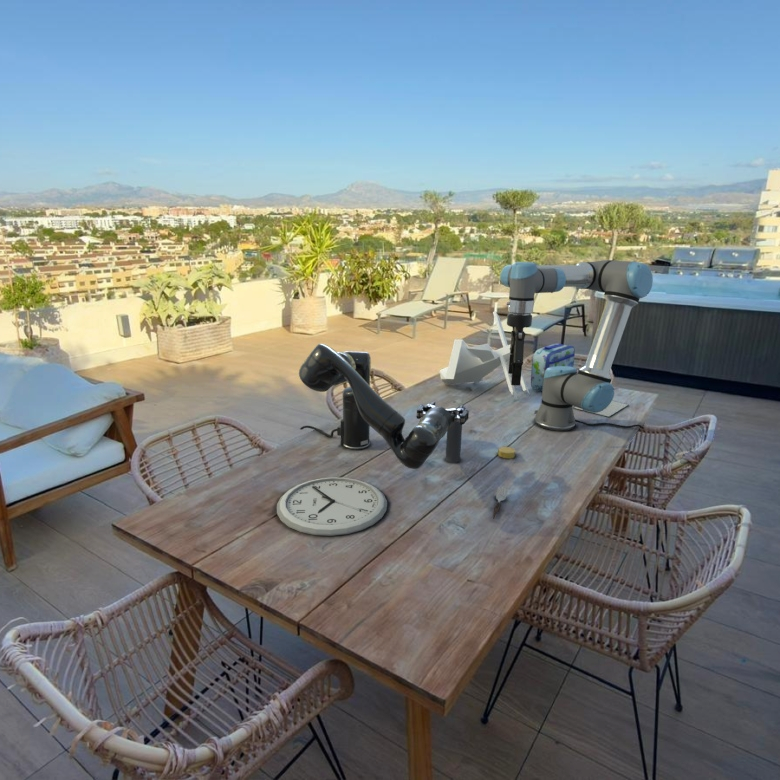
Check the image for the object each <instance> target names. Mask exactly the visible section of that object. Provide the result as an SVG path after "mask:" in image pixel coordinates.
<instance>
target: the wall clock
mask: <svg viewBox="0 0 780 780" xmlns="http://www.w3.org/2000/svg"><path fill="white" fill-rule="evenodd" d="M387 509H388V500H387V498H386V496H385V494H384V493H383V492H382V491H381V490H380V489H379V488H377V487H376V486H374V485H372V484H371V483H369V482H365V481H362V480H359V479H355V478H349V477H338V476H337V477H335V476H333V477H332V476H331V477H322V478H317V479H312V480H307V481H305V482H302V483H299V484H297V485H295V486H293V487H292V488H290V489H288V490H287V491H286V492H285V493H284V494H283V495H281V496H280V498H279V499H278V502H277V503H276V515H277V517H278V518H279V520H280V521H281V522H282V523H283V524H285V525H286V526H287V527H288V528H290V529H293V530H295V531H297V532H299V533H303V534H308V535H312V536H327V537H328V536H329V537H331V536H332V537H333V536H342V535H350V534H352V533H356V532H361V531H363V530H366V529H368V528H369V527H372V526H373V525H375V524H376V523H378V522H379V521H380V520H381V519H382V518H383V517H384V516H385V514H386V512H387Z"/></svg>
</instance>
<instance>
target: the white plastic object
mask: <svg viewBox="0 0 780 780" xmlns="http://www.w3.org/2000/svg"><path fill="white" fill-rule="evenodd" d="M492 315H493V319H494V321H495V324H496V325H495V326H496V328H497V332H498V335H499V338H500V342H501V345H502V347H500V348H498V349H496V350H495V349H493V348H492V347H491V346H490V344H489V343H488V342H487V343H483V344H479V345H473V346H469V345H468V343H466V342H465V340H464V339H463V338H460V339H458V338H454V340H453V344H452V349H451V353H450V357H449V362H448V366H446V367H444V368H442V369H440V370H439V371H438V372H439V376H440V381H442V383H443V384H444V385H445V386H449V385H458V384H467V383H468V384H469V383H473V384H477V383H480V382H482V381H484V378H485V377H486V376H487V375H489V374H490V373H492V372H494V371H495V370H496V369H497V368H499V367H500V366H502V370H503V373H504V376H505V380H506V383H507V386H508V390H509V393H510V394H511V395H512V397H513V398H514V399H515V400H517V392H516V391H517V390H516V388H515V385H511V380H512V374H508V371H509V364H508V362H509V360H510V345H511V343H510V344H508V341H507V337H506V334H505V331H504V328H503V325H502V321H501V318H500V315H499V314H498V312H497V311H496V310H495V311H492ZM518 361H519V360H518ZM520 386H521V389H522V391H523V393H524V395H525V396H526V397H528V396H531V395H530V390H529V388H528V387H529V386H528V384H527V381H526V378H525V375H524V371H523V370H522V372H521V383H520Z"/></svg>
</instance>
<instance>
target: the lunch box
mask: <svg viewBox="0 0 780 780" xmlns="http://www.w3.org/2000/svg"><path fill="white" fill-rule="evenodd" d="M575 352H576V351H575V346H573V345H568V344H562V343H553V344H550V345H547V346H546V345H545V346H544V347H541V348H538V349H537V350H536V351H535V352H534V354H533V357H532V362H531V371H530V372H531V374H530V387H531V389H533V390H539V391H542V390H543V380H544V379H543V378H544V374H545V370H546V369H547V368H549V367H555V366H569V367H574V363H575Z"/></svg>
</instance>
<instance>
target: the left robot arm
mask: <svg viewBox="0 0 780 780" xmlns="http://www.w3.org/2000/svg"><path fill="white" fill-rule="evenodd" d="M371 370H372V359H371V355H370V353H369V352H367V351H354V350H353V351H351V350H346V351H345V350H344V351H337V350H335V349H333V347H330V346H329V345H327V344H324V343H318V344H317V345H316V346H315V347H314V348H313V349H312V350H311V352H310V353H309V355H308V356H307V357H306V359H305V360H304V362H303V363H302V364H301V365H300V367H299V370H298V377H299V379H300V381H301V382H302V384H303V385H305V387H307V388H309V389H311V390H313V391H315V392H318V393H319V392H320V393H324V392H328V390H330V389H331V388H332V387H333V386H336V385H339V384H343V383H346V382H347V383H348V385H349V386H347V387H345V388H344V389H342V418H341V419H340V424H339V425H338V426H337V428H334V429H332V430H331V432H330V434H328V433H326V432H325V431H324V430H322V429H321V428H318V427H315V426H311V425H303V426H301V427H299V430H304V429H311V430H314V431H317V432H319V433H321V434H322V435H323V436H325V437H327V438H333V436H334V433H336V432H337V433H336V435H337V436H340V446H341V447H344V448H346V449H349V450H355V451H356V450H363V449H367V448H369V447H370V445H371V442H370V440H371V439H370V437H371V436H370V435H371V434H370V433H371V432H370V430H371V429H370V427H371V428H372V429H373V430H374V431H375V432H377V433H378V434H379V435H380V436H381V437H382V438H383V439H384V441H385V442H386V444H387V445H388V446H389V448H390V449H391V451H392V453H393V454H394V456H395V457H396V458H397V459H398V461H399V462H400V463H401V464H402V465H403V466H405V467H406V468H408V469H410V470H411V469H412V470H417V469H420V468H421V467H422V466H423V465H424V464H425V462H427V460H428V458H429V457H430V456H431V455H432V453H433V452H434V451H435V449H436V448H437V447H438V445H439V443H440V442H441V439H442V438H444V436H445V435H446V434H447V430H448V429H449V427H450V426H451V424H452V423H453V422H455V421H459V422H460V424H461V425H462V426H463V425H464V424H466V422H468V420H469V414H470V409H466V406H465V405H464V404H460V405H459V407H458V408H456V407H452V408H444V407H442V406H436V401H434V400H433V401H432V402H429V403H428V404H424V403H422V404H421V403H420V405H419V406H418V407H417V409H416V419H418V420H419V421H418V423H417V425H415V426H414V427H413V428H412V429H411V431H410V432H409V433H408V435H407V436H406V437H405V438H404V436H403V430H404V427H405V424H406V419H405V417H404V416H403V415H402V414H401V413H400V412H398V410H396V409H395V408H394V407H392V406H391V404H389V403H388V402H387V401H385V400H384V399H383V398H382V397H381V396H380V395H379V394H378V393H377V392H376V391H375V390H374V389H373V388H372V387H371ZM452 412H453V413H452ZM457 413H458V415H457Z"/></svg>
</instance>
